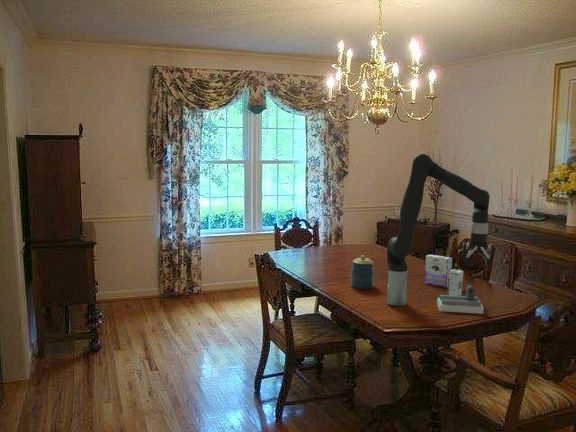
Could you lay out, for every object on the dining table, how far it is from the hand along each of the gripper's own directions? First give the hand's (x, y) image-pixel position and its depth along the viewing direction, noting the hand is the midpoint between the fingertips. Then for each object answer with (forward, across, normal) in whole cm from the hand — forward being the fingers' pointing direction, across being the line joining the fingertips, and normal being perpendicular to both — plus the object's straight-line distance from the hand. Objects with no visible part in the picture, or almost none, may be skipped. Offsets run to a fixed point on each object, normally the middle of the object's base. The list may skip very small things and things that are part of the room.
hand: (477, 265), depth 251 cm
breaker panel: (+22, +7, 0) cm, 23 cm away
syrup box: (+22, +7, -18) cm, 29 cm away
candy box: (+22, +13, -43) cm, 50 cm away
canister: (+22, +55, -31) cm, 67 cm away
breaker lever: (+19, +2, 0) cm, 19 cm away
